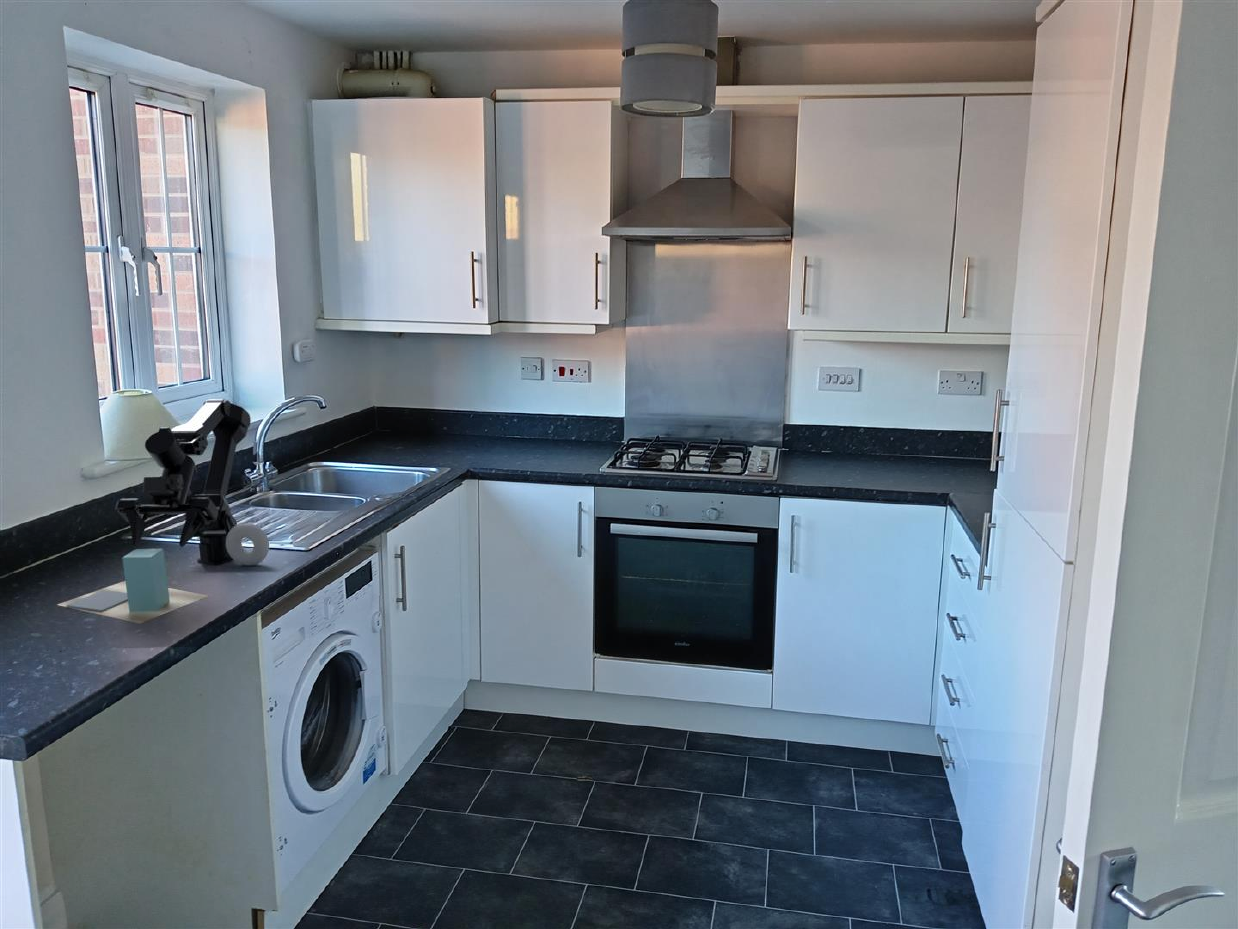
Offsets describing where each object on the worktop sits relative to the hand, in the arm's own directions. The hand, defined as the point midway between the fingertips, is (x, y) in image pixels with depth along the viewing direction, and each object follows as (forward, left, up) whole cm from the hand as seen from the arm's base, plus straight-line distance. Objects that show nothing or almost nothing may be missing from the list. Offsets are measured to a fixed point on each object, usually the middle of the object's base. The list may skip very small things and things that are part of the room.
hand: (157, 546), depth 189 cm
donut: (-25, -2, -12) cm, 27 cm away
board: (+4, -3, -12) cm, 13 cm away
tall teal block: (+5, +3, -10) cm, 12 cm away
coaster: (+7, -8, -10) cm, 15 cm away
